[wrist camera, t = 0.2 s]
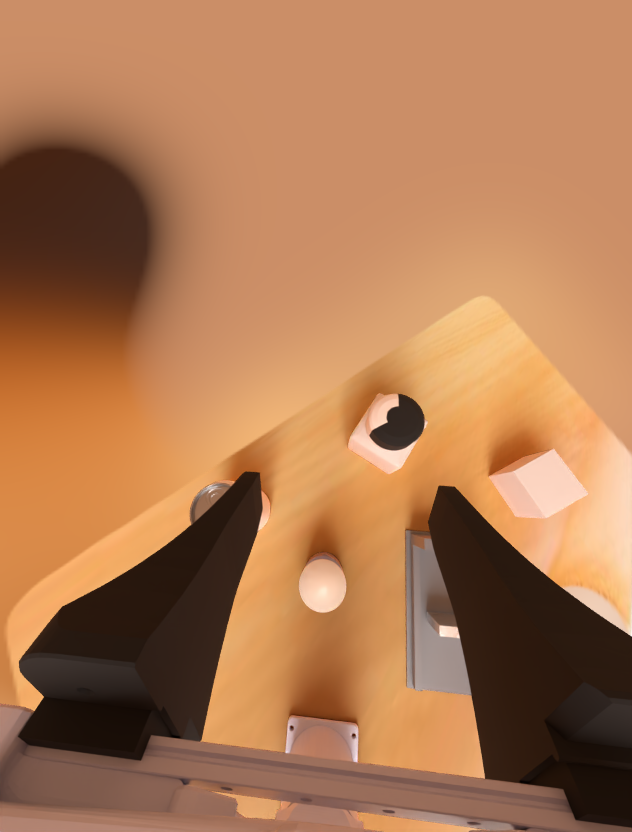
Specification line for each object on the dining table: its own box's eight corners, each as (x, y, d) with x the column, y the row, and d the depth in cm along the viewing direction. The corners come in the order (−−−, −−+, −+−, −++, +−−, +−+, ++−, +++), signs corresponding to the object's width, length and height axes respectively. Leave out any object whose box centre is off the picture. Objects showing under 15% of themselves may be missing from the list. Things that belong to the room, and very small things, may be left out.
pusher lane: (486, 695, 35) (519, 735, 28) (406, 686, 35) (422, 723, 29) (474, 535, 39) (501, 541, 33) (405, 529, 40) (418, 534, 34)
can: (265, 480, 43) (241, 470, 31) (276, 526, 41) (255, 534, 29) (220, 493, 42) (180, 489, 31) (230, 541, 41) (191, 554, 29)
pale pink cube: (515, 516, 40) (546, 518, 34) (487, 476, 42) (512, 471, 36) (552, 495, 41) (588, 493, 35) (523, 456, 42) (554, 448, 36)
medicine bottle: (414, 434, 44) (444, 408, 32) (389, 475, 42) (411, 463, 31) (371, 408, 45) (386, 375, 34) (346, 447, 44) (352, 426, 32)
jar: (342, 597, 38) (345, 614, 32) (302, 593, 38) (296, 610, 32) (344, 553, 40) (347, 561, 33) (305, 549, 40) (301, 557, 34)
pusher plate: (464, 624, 36) (482, 640, 32) (427, 621, 36) (439, 636, 32) (464, 615, 36) (481, 629, 32) (426, 611, 36) (439, 625, 32)
